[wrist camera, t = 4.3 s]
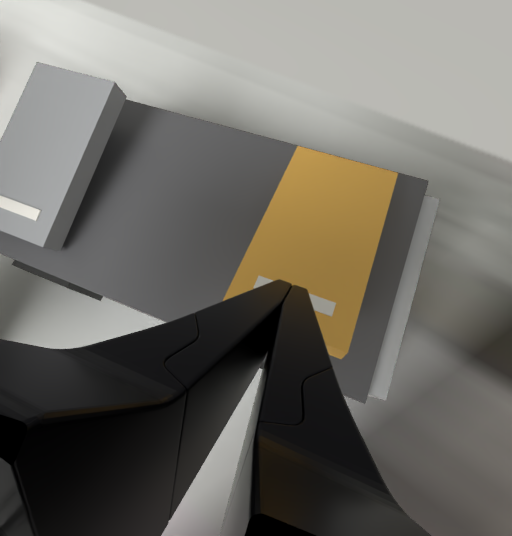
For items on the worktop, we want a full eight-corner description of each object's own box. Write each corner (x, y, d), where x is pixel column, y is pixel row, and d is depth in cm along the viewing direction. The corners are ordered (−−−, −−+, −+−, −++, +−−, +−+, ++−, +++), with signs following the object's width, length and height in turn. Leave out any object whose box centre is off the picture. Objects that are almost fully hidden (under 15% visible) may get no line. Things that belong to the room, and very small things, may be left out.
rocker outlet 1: (59, 251, 15) (41, 246, 14) (-14, 222, 16) (-37, 216, 15) (126, 96, 16) (113, 81, 15) (53, 77, 16) (35, 60, 15)
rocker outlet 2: (341, 359, 11) (348, 352, 10) (224, 313, 12) (220, 303, 11) (390, 188, 14) (398, 171, 14) (295, 162, 15) (297, 144, 14)
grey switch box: (351, 404, 18) (384, 421, 12) (34, 272, 22) (-62, 234, 16) (399, 241, 21) (447, 185, 14) (107, 151, 25) (49, 78, 19)
